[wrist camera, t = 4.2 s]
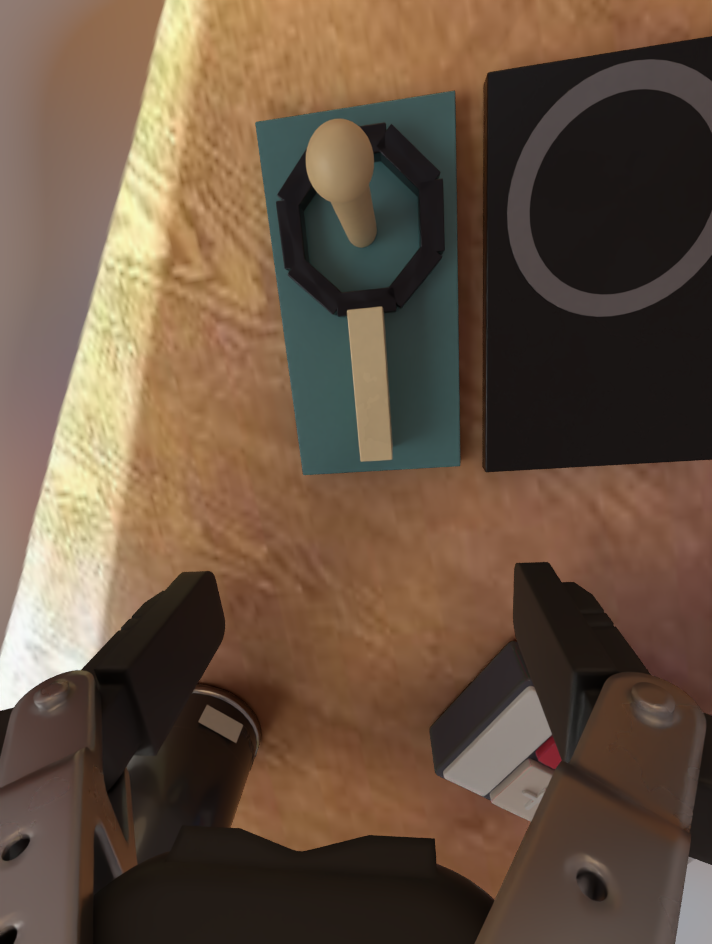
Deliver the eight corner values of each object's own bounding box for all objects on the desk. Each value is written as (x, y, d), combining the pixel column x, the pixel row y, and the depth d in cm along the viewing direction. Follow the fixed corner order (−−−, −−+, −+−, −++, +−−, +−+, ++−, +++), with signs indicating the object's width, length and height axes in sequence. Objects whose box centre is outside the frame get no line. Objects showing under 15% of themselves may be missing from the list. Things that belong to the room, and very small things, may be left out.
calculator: (597, 861, 32) (433, 785, 30) (572, 800, 36) (426, 729, 34) (709, 779, 28) (532, 686, 26) (667, 722, 32) (511, 637, 30)
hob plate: (482, 467, 27) (485, 473, 26) (483, 83, 21) (488, 70, 20) (702, 455, 25) (715, 460, 24) (773, 37, 19) (795, 20, 18)
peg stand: (305, 470, 28) (249, 556, 17) (260, 130, 22) (131, -65, 11) (458, 461, 27) (500, 547, 16) (452, 100, 21) (513, -148, 10)
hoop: (273, 149, 21) (256, 123, 19) (439, 124, 20) (446, 93, 18) (312, 452, 26) (302, 465, 24) (446, 443, 25) (452, 456, 23)
